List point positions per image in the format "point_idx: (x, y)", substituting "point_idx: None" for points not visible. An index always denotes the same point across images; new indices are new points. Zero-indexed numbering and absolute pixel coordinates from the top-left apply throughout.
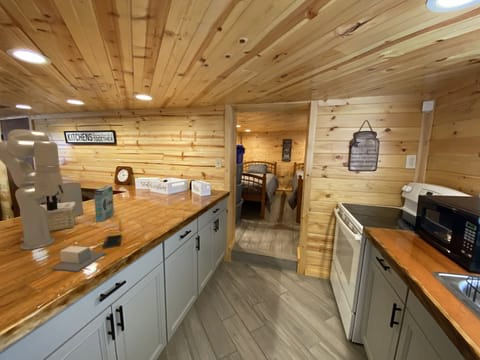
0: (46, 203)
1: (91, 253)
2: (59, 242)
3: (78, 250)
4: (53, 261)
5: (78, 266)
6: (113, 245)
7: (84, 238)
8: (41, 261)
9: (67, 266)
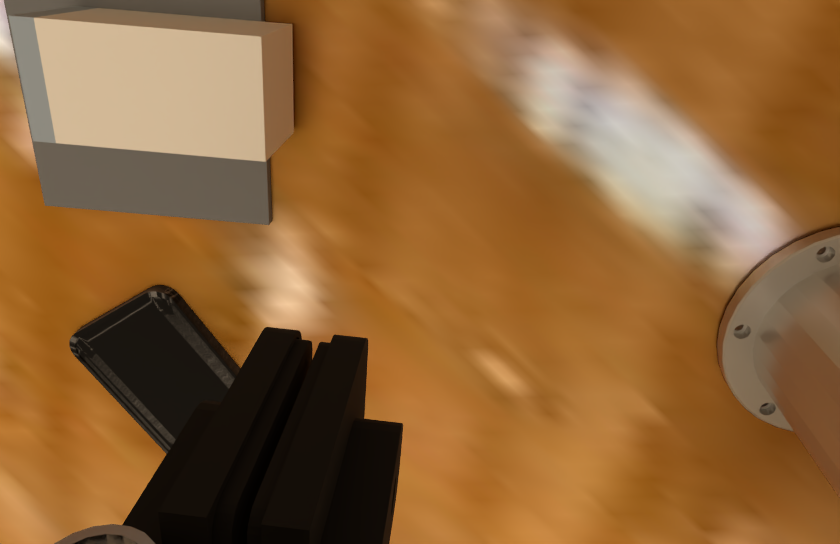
0: (309, 484)
1: (159, 185)
2: (665, 372)
3: (80, 67)
4: (392, 41)
5: None
6: (107, 329)
7: (500, 446)
8: (506, 32)
9: None
